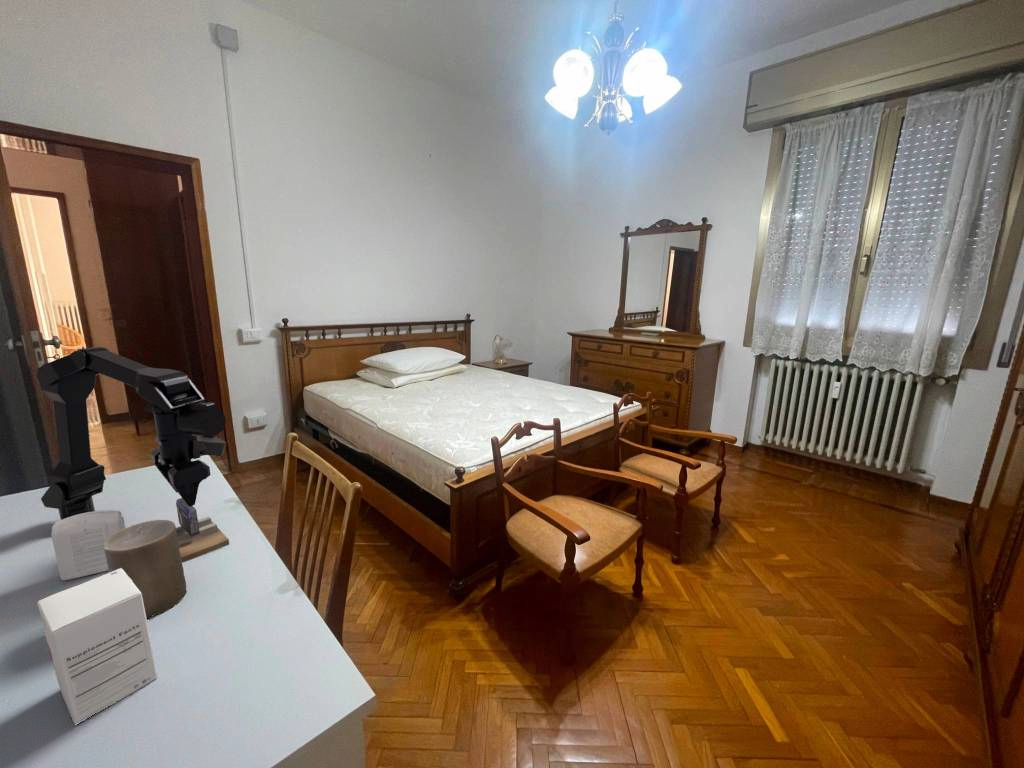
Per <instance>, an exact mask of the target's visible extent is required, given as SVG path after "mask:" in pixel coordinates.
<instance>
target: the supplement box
mask: <svg viewBox="0 0 1024 768" xmlns="http://www.w3.org/2000/svg"><path fill="white" fill-rule="evenodd" d="M37 607H38V611H39V614H40V619H41V623H42V624H41V625H42V627H43V631H44V635H45V639H46V643H47V647H48V651H49V655H50V658H51V661H52V666H53V669H54V671H55V677H56V680H57V683H58V685H59V690H60V692H61V693H60V694H61V696H62V698H63V700H64V703H65V705H66V707H67V710H68V712H69V713H68V714H69V715H70V717H72V718H71V719H72V722H73V721H74V722H73V724H74V723H75V724H77V723H79V722H81V721H83V720H84V719H86V718H88V717H90V716H92V715H94V714H95V713H97V712H99V713H100V711H101V710H102V711H104V710H106V709H107V708H109V707H111V706H112V705H114V704H116V703H117V701H118V702H119V701H121V700H123V699H124V698H126V697H128V696H129V695H132V694H133V693H134V692H136V691H138V690H140V689H141V688H143V687H144V686H146V685H148V684H150V683H151V682H154V681H155V680H156V679H158V671H157V666H156V660H155V656H154V650H153V646H152V641H151V636H150V629H149V624H148V620H147V618H146V613H145V608H144V603H143V598H142V594H141V592H140V591H139V589H138V588H137V587H136V586H135V584H134V583H133V581H132V580H131V579H130V578H129V577H128V575H127V574H126V573H125V571H124V570H123V569H122V568H120V569H117V570H115V571H112V572H110V573H109V572H108V573H106V574H103V575H100V576H97V577H95V578H93V579H91V580H87V581H85V582H83V583H81V584H77V585H75V586H72V587H70V588H67V589H64V590H62V591H58V592H55V593H54V594H51V595H49V596H47V597H45V598H41V599H40V600H38V601H37ZM110 705H111V706H110ZM108 706H109V707H108ZM105 708H106V709H105ZM103 709H104V710H103ZM102 711H101V712H102ZM97 714H98V713H97ZM95 715H96V714H95ZM95 715H94V716H95ZM92 717H93V716H92ZM90 718H91V717H90ZM75 724H74V725H75Z"/></svg>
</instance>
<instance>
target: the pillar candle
mask: <svg viewBox="0 0 1024 768" xmlns="http://www.w3.org/2000/svg"><path fill="white" fill-rule="evenodd" d="M176 528H177V527H176V524H175V522H173V521H172V520H170V519H155V520H148V521H143V522H139V523H136V524H132V525H129V526H127V527H125V528H124V529H122V530H120V531H119V532H117V533H115V534H113V535H112V536H110V537H109V538H107V540H106V541H105V542H104V544H103V549H104V551H105V556H106V560H107V565H108V571H107V572H108V573H110V572H112V571H115V570H117V569H120V568H122V569H123V570H124V571H125V573H126V574H127V575H128V577H129V578H130V579H131V580H132V581H133V583H134V584H135V586H136V587H137V588H138V589H139V591H140V592H141V594H142V598H143V603H144V608H145V613H146V619H147V618H151V617H153V616H157V615H160V614H162V613H164V612H166V611H168V610H170V609H171V608H173V607H175V606H176V605H177V604H178V603H180V602H181V600H183V598H184V597H185V596H186V594H187V593H188V590H187V580H186V576H185V572H184V567H183V563H182V560H181V555H180V550H179V544H178V538H177V532H176Z"/></svg>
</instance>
